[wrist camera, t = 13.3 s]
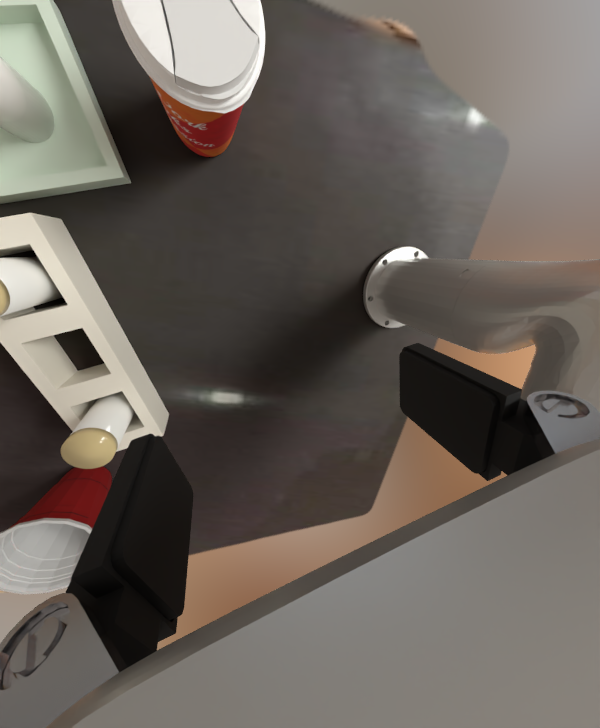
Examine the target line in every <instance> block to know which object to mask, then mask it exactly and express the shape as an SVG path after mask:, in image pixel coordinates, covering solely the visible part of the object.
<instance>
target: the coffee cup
mask: <svg viewBox="0 0 600 728" xmlns="http://www.w3.org/2000/svg"><path fill="white" fill-rule="evenodd" d="M112 1H113V6H114V10H115V13H116V16H117V19H118V22H119V24H120V27H121V30H122V32H123V34H124V36H125V38H126V41H127V43H128V45H129V47H130V48H131V50H132V52H133V53H134V55H135V57H136V58H137V60H138V62H139V63H140V64H141V66H142V67H143V68H144V70H145V71H146V72H147V74H148V75H149V76H150V78H151V81H152V83H153V85H154V87H155V89H156V91H157V93H158V96H159V98H160V100H161V102H162V104H163V106H164V108H165V110H166V112H167V115H168V117H169V119H170V121H171V123H172V125H173V127H174V129H175V131H176V132H177V134H178V136H179V137H180V139H181V140H182V142H183V143H184V144H185V145H186V146H187V147H188V148H189V149H190V150H192V151H193V152H195V153H196V154H198V155H201V156H205V157H214V156H217V155H219V154H221V153H222V152H224V151H225V150H226V148H227V147H228V145H229V143H230V141H231V139H232V136H233V134H234V131H235V128H236V125H237V122H238V119H239V116H240V113H241V110H242V107H243V104H244V103H245V102H246V101H247V100H248V99H249V97H250V95H251V92H252V90H253V88H254V86H255V83H256V81H257V79H258V77H259V74H260V71H261V67H262V64H263V57H264V51H265V27H264V18H263V12H262V6H261V2H260V0H112Z"/></svg>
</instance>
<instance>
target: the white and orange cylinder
mask: <svg viewBox="0 0 600 728" xmlns="http://www.w3.org/2000/svg"><path fill="white" fill-rule="evenodd" d="M54 126H55V123H54V116H53V113H52V110H51V108H50V106H49V104H48V102H47V101H46V99H45V98H44V97H43V95H42V94H41V93H40V92H39V91H38V90H37V89H36V88H35V87H34V86H32V85H31V84H30V83H29V82H28V81H27V80H26V79H25V78H24V77H22V76H21V75H20V74H19V73H18V72H17V71H16V70H15V69H14V68H13V67H11V66H10V65H9V64H8V63H7V62H6V61H5V60H4V59H3V58H2V57H0V128H2V129H4V130H5V131H7V132H9V133H11V134H12V135H14V136H16V137H18V138H20V139H22V140H24V141H28V142H33V143H39V142H43V141H46V140H47V139H48V138H50V136H51V135H52V133H53V131H54Z"/></svg>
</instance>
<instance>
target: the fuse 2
mask: <svg viewBox="0 0 600 728" xmlns="http://www.w3.org/2000/svg"><path fill="white" fill-rule="evenodd" d="M134 413H135V411H134V409H133V408H132V406H131V404H130V403H129V401H128V400H127V398H126V396H125V395H124V393H123V392H122V391H121V392H118V393H114V394H111V395H108V396H104V397H101V398H98V399H97V401H96V402H95V403H94V405H93V406H92V407H91V408H90V410H89V411H88V412H87V414H86V415H85V416H84V418H83V419H82V420H81V421H80V423H79V424H78V425H77V427H76V428H75V429H74V430H73V432H72V433H71V434H70V436H69V437H68V438H67V440H66V441H65V442H64V443H63V445H62V447H61V456H62V458H63V459H64V460H65V461H66V462H67V463H68V464H70V465H72V466H74V467H77V468H83V469H93V468H98V467H101V466H104V465H106V464H107V463H109V462H110V461H111V460H112V458H113V457H114V455H115V452H116V450H117V448H118V446H119V444H120V442H121V440H122V438H123V436H124V434H125V432H126V430H127V427H128V425H129V423H130V421H131V419H132V417H133V415H134Z"/></svg>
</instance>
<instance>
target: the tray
mask: <svg viewBox="0 0 600 728" xmlns="http://www.w3.org/2000/svg"><path fill="white" fill-rule="evenodd" d="M0 57H2V58H3V59H4V60H5V61H6V62H7V63H8V64H9V65H10V66H11V67H13V68H14V69H15V70H16V71H17V72H18V73H19V74H20V75H21V76H22V77H24V78H25V79H26V80H27V81H28V82H29V83H30V84H31V85H32V86H34V87H35V88H36V89H37V90H38V91H39V92H40V93H41V94H42V95H43V97H44V98H45V99H46V101H47V102H48V104H49V106H50V108H51V110H52V113H53V116H54V123H55V126H54V131H53V133H52V135H51V136H50V138H48V139H47V140H46V141H43V142H39V143H33V142H28V141H24V140H22V139H20V138H18V137H16V136H14V135H12V134H11V133H9V132H7V131H5V130H4V129H2V128H0V204H4V203H11V202H17V201H23V200H29V199H36V198H42V197H48V196H54V195H60V194H67V193H73V192H79V191H85V190H92V189H98V188H104V187H110V186H116V185H123V184H129V183H131V181H130V178H129V176H128V174H127V171H126V169H125V166H124V164H123V162H122V159H121V157H120V154H119V152H118V149H117V147H116V145H115V142H114V140H113V137H112V135H111V133H110V130H109V128H108V125H107V123H106V121H105V118H104V116H103V113H102V111H101V109H100V106H99V104H98V101H97V99H96V97H95V94H94V92H93V89H92V87H91V85H90V82H89V80H88V77H87V75H86V73H85V70H84V68H83V65H82V63H81V61H80V58H79V56H78V53H77V51H76V49H75V46H74V44H73V41H72V39H71V36H70V34H69V32H68V29H67V27H66V24H65V22H64V20H63V17H62V15H61V12H60V10H59V9H58V7H57V6H56V4H55V3H54V1H53V0H0Z"/></svg>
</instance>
